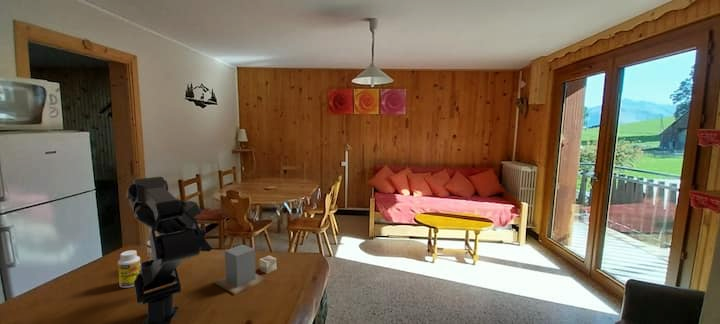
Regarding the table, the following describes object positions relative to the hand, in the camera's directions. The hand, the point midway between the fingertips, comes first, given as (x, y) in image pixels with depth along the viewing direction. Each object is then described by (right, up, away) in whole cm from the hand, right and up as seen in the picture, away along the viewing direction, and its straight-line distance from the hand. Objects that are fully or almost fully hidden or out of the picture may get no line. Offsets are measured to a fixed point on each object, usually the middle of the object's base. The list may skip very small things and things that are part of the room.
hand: (202, 245), depth 91 cm
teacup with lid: (-21, -12, +16) cm, 29 cm away
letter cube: (+15, -12, +14) cm, 24 cm away
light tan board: (+9, -13, +6) cm, 17 cm away
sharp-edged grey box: (+9, -13, +6) cm, 17 cm away
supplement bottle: (-24, -13, +3) cm, 28 cm away
